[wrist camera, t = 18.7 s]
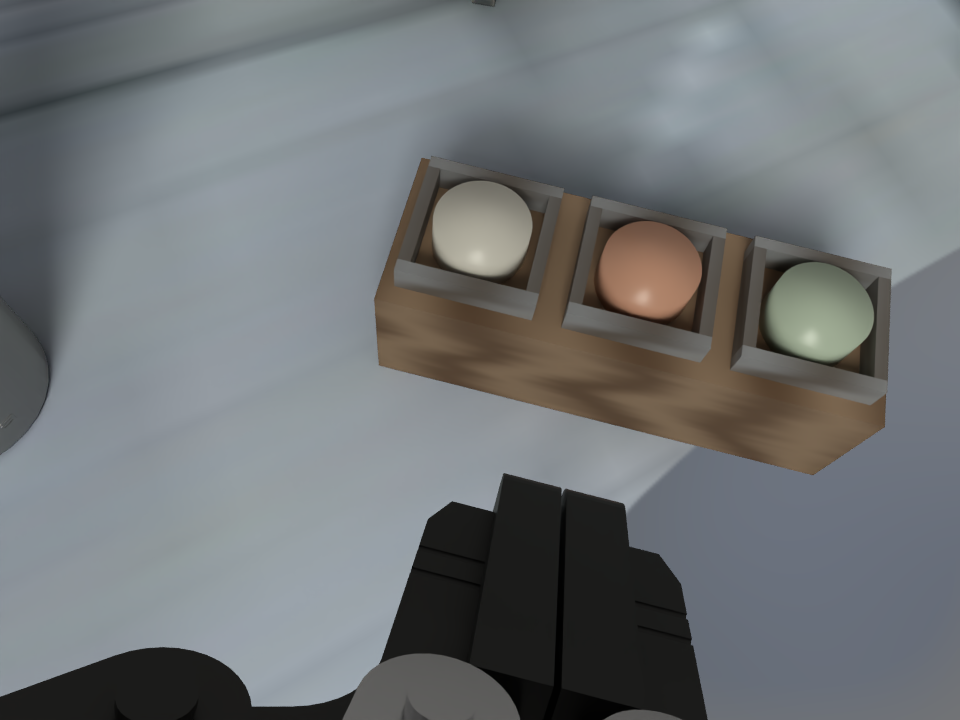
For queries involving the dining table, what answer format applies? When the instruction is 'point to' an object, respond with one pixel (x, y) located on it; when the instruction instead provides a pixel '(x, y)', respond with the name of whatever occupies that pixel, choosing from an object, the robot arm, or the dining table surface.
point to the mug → (485, 2)
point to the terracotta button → (647, 272)
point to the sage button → (816, 314)
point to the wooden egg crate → (629, 331)
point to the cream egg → (481, 231)
